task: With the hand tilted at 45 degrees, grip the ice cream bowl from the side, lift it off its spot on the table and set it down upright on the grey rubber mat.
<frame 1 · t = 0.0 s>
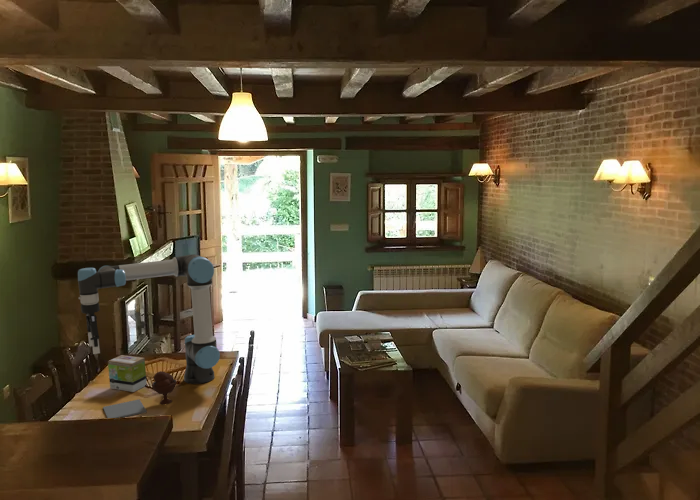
hand: (94, 349, 276), 28 cm above the table, tool pointing down, fingers open, 13 cm apart
ice cream bowl: (165, 402, 285), on the table
tea box: (128, 387, 307), on the table
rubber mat: (124, 410, 278), on the table
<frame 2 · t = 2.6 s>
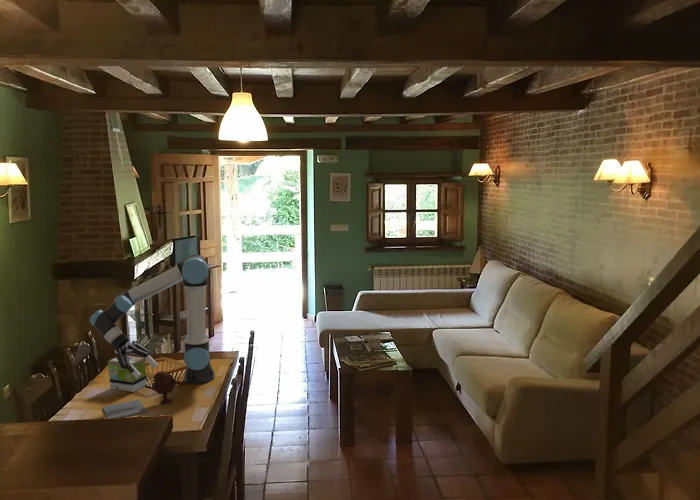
hand: (147, 371, 285), 14 cm above the table, tool tilted 45°, fingers open, 13 cm apart
nothing on the table moved.
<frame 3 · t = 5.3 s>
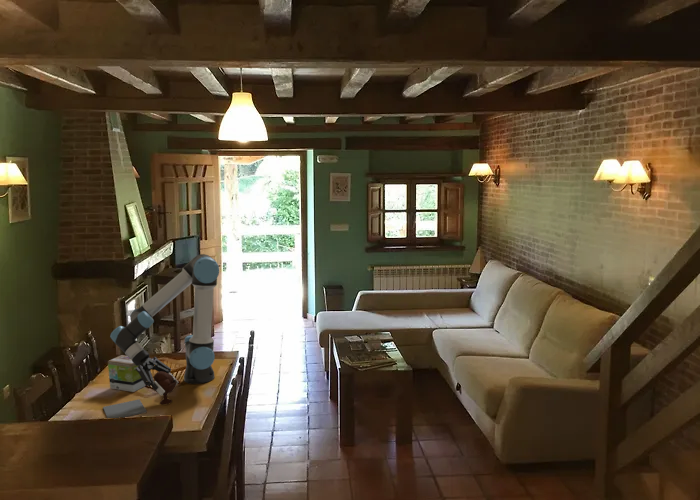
hand: (170, 388, 284), 7 cm above the table, tool tilted 45°, fingers closed on ice cream bowl, 11 cm apart
ice cream bowl: (165, 402, 285), on the table, touching gripper
everything else where it was.
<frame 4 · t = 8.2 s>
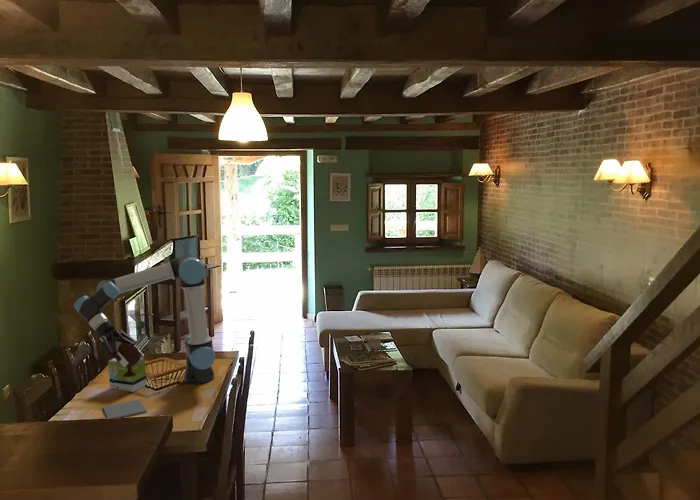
hand: (134, 361, 275), 22 cm above the table, tool tilted 45°, fingers closed on ice cream bowl, 11 cm apart
ice cream bowl: (129, 375, 277), point 16 cm above the table, touching gripper
everything else where it was.
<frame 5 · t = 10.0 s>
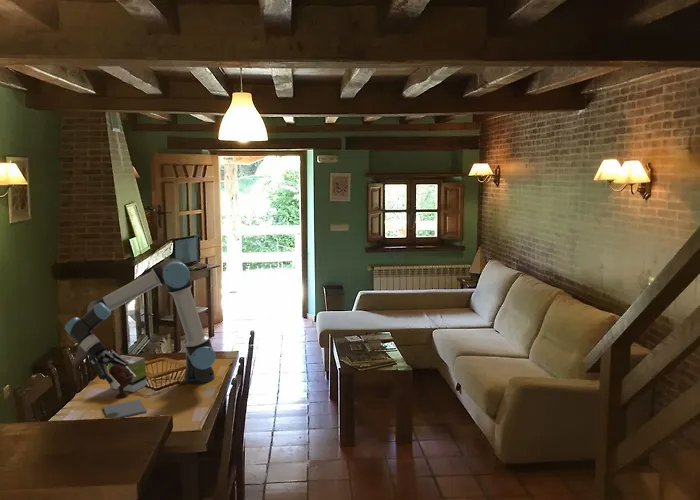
hand: (126, 382, 275), 13 cm above the table, tool tilted 45°, fingers closed on ice cream bowl, 11 cm apart
ice cream bowl: (121, 396, 276), point 6 cm above the table, touching gripper
everything else where it was.
when the fingers open (9 cm above the table, at t = 11.5 s): ice cream bowl drops 1 cm, resting on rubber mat.
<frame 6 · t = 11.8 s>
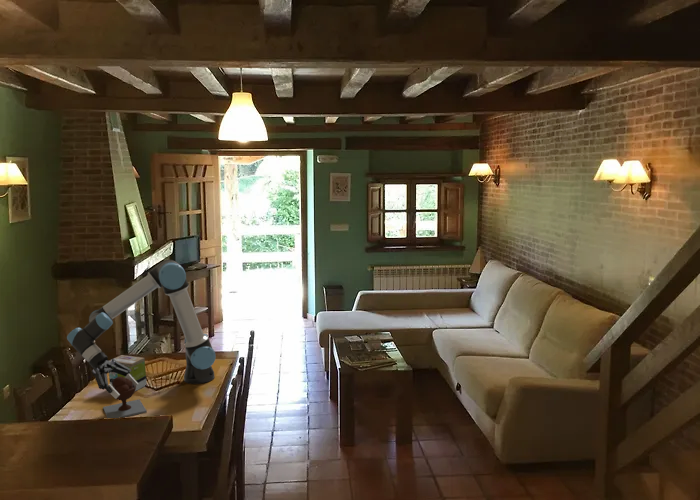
hand: (127, 391, 276), 9 cm above the table, tool tilted 45°, fingers open, 13 cm apart
ice cream bowl: (124, 408, 278), point 1 cm above the table, touching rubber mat
everything else where it was.
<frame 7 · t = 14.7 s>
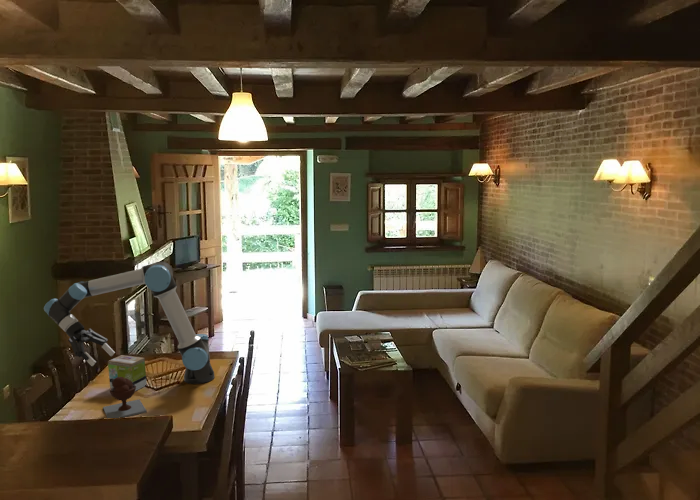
hand: (103, 359, 283), 22 cm above the table, tool tilted 45°, fingers open, 13 cm apart
nothing on the table moved.
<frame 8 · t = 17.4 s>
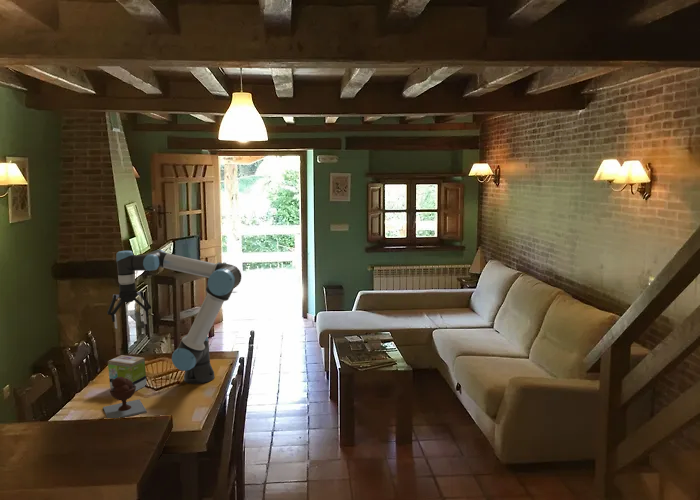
hand: (130, 325, 300), 32 cm above the table, tool pointing down, fingers open, 13 cm apart
nothing on the table moved.
at the end: ice cream bowl inside the target area on the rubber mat (0.3 cm from its centre), point 0.6 cm above the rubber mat's base; ice cream bowl tilted 0°; the gripper is holding nothing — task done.
